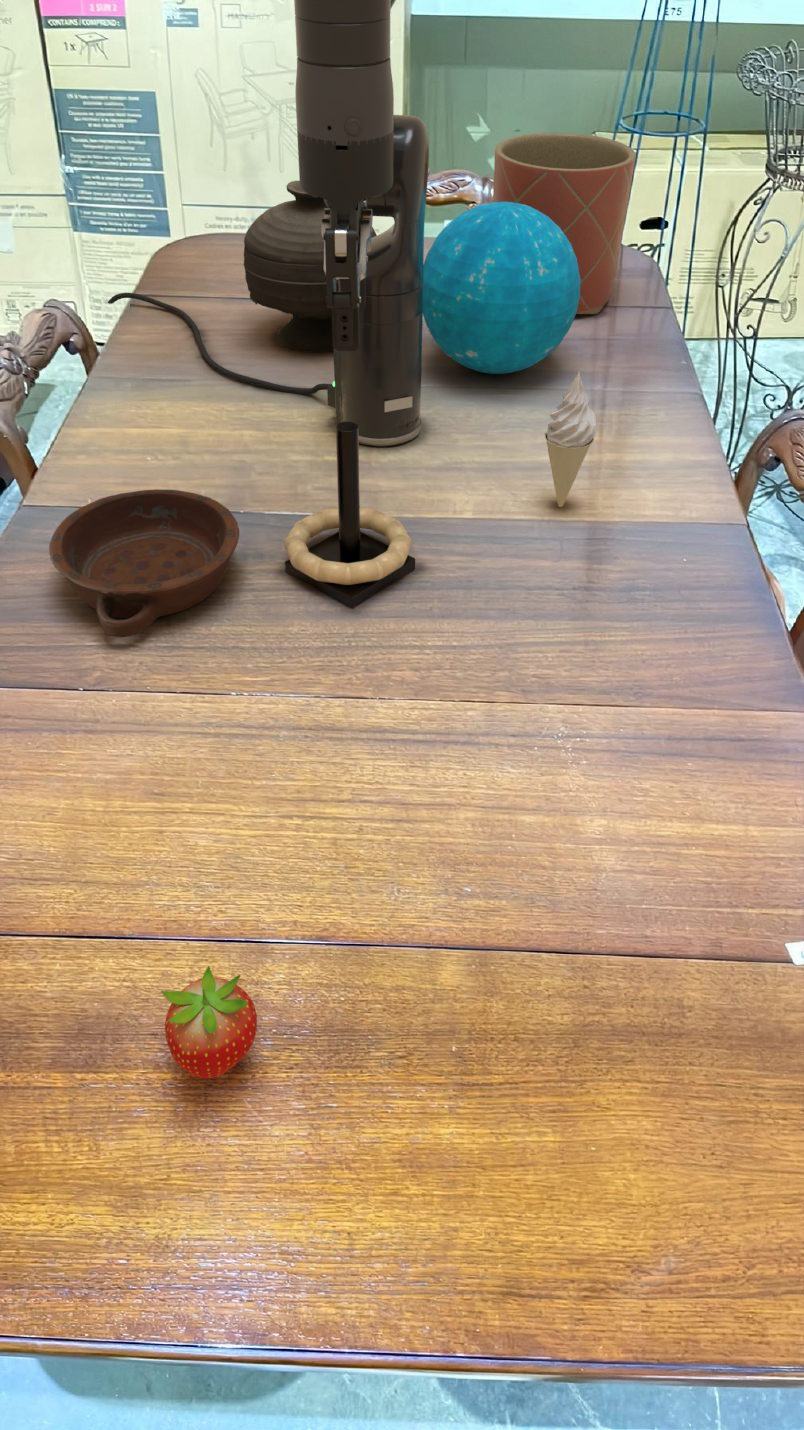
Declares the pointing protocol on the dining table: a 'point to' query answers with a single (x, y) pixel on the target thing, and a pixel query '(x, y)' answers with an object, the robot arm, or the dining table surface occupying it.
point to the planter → (573, 197)
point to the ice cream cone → (569, 438)
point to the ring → (347, 571)
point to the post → (349, 529)
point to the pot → (292, 269)
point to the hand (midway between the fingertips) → (349, 328)
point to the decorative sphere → (500, 287)
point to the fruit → (210, 1025)
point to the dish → (144, 554)
